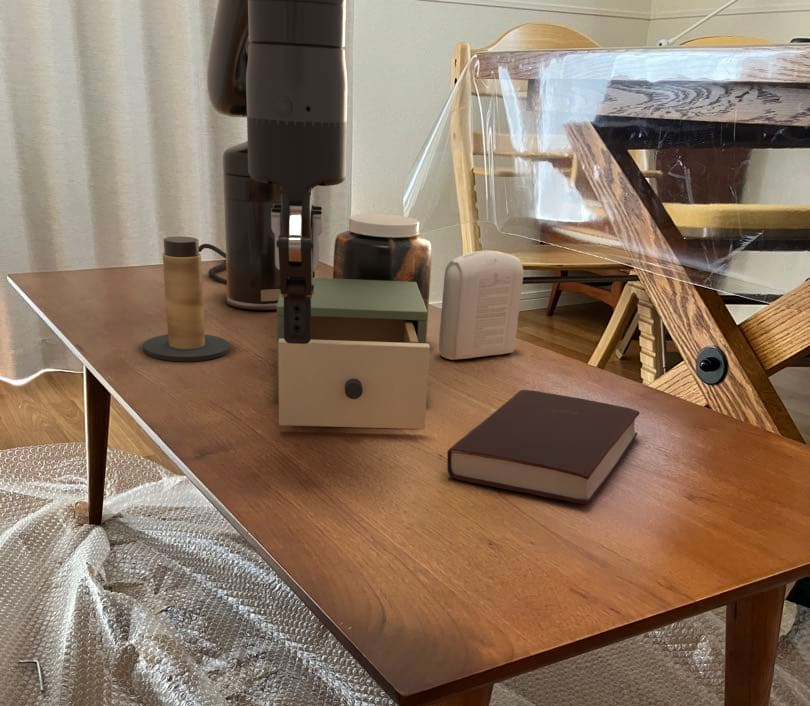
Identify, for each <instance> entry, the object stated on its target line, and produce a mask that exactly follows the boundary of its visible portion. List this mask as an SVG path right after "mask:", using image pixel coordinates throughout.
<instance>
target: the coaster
mask: <svg viewBox="0 0 810 706" xmlns="http://www.w3.org/2000/svg"><path fill="white" fill-rule="evenodd" d="M142 350H143V353H144V354H145V355H147V356H148V357H150V358H153V359H157V360H161V361H162V360H163V361H168V362H181V363H182V362H183V363H185V362H186V363H188V362H189V363H191V362H192V363H193V362H204V361H209V360H215V359H218V358H221V357H224V356H226V355H228V353H229V352H230V350H231V345H230V343H229V342H228V340H226V339H225V338H222V337H220V336H217V335H213V334H212V335H211V334H205V346H203V347H201V348H198V349H190V350H183V349H176V348H172V347H170V346H169V342H168V334H163V335H158V336H157V335H156V336H155V337H154V336H153V337H150V338H148V339H146V340H145V341H144V342H143V344H142Z"/></svg>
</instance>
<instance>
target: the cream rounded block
mask: <svg viewBox="0 0 810 706" xmlns="http://www.w3.org/2000/svg"><path fill="white" fill-rule="evenodd" d="M443 276H444V278H443V289H442V300H441V312H440V326H439V339H438V352H439V354H440V356H441V357H442V358H444V359H447V360H451V361H455V360H456V361H457V360H465V359H473V358H480V357H488V356H497V355H498V356H499V355H505V354H512V353H513V352H514V351H515V347H516V342H517V341H516V339H517V332H518V323H519V313H520V306H521V297H522V291H523V283H524V282H523V281H524V266H523V263H522V261H521V259H520V258H519V257H517V256H515V255H512V254H510V253H506V252H502V251H498V250H487V249H486V250H485V249H484V250H476V251H472V252H471V251H470V252H468V253H465V254H462V255H460V256H458V257H455V258H453V259H452V260H450V261H449V262H448V263H447V265H446V267H445V270H444V275H443Z"/></svg>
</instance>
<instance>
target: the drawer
mask: <svg viewBox="0 0 810 706" xmlns="http://www.w3.org/2000/svg"><path fill="white" fill-rule="evenodd" d="M430 354H431V347H430V344H429V343H427V342H426V343H419V342H418V339H417V336H416V332H415V329H414V326H413V323H412V320H395V319H368V318H340V317H313V316H311V339H310V342H309V343H307V344H293V343H287V342H286V341H285V340H284V339H279V341H278V366H279V402H278V425H279V426H289V427H290V426H292V427H326V428H327V427H328V428H331V427H332V428H364V429H365V428H368V429H404V430H405V429H406V430H407V429H408V430H409V429H410V430H424V429H425V427H426V412H427V411H426V410H427V397H428V383H429V369H430V368H429V367H430Z"/></svg>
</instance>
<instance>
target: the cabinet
mask: <svg viewBox="0 0 810 706" xmlns="http://www.w3.org/2000/svg"><path fill="white" fill-rule="evenodd" d="M313 283H314V294H312V299H311V316H313V317H340V318H368V319H395V320H412V323H413V326H414V329H415V332H416V336H417V339H418V342H419V343H426V344H427V339H426V332H427V333H428V325H427V316H428V317H429V311H428V312H427V309H426V307H425V304H424V301H423V299H422V296H421V294H420V291H419V288H418V286H417V283H416V282H405V281H380V280H355V279H333V278H327V277H315V278H313ZM279 339H284V298H282V294H281V293H280V295H279V299H278V304H277V310H276V347H277V348H276V349H277V350H276V351H277V352H276V353H277V354H276V355H277V356H276V357H277V358H276V359H277V360H276V361H277V368H276V369H277V370H276V371H277V403H279V366H278V341H279Z"/></svg>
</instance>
